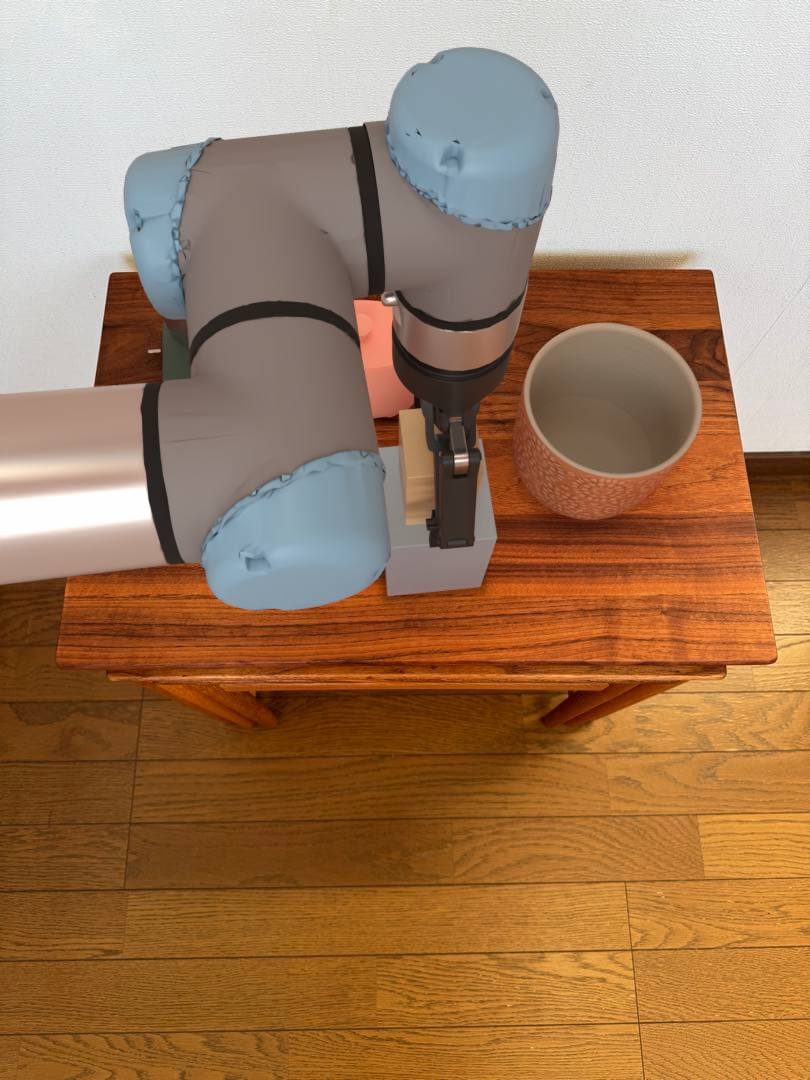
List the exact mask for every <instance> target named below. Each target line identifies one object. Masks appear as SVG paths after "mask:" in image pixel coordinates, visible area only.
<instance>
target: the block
mask: <svg viewBox="0 0 810 1080" xmlns="http://www.w3.org/2000/svg"><path fill="white" fill-rule="evenodd" d="M477 424H478V423H476V445H475V446H474V447H473V448H476V447H478V448H479V449H480V443H479V439H480V437H479V432H478V425H477ZM434 434H443V433H442V432H440V430H439V429H438V428H437V427H436V426H435V424H434ZM398 446H399V472H400V481H401V490H402V499H403V508H404V516H405V525H416V524H426V519H427V518H431V514H432V510H434V509H435V491H434V462H433V452H431V451H430V450H429V449H428V446H427V442H426V436H425V417H424V416H423V413H422V409H421V408H420V409H413V408H409V409H407V410H399V414H398ZM480 453H481V450H480ZM483 472H484V469H483V462H482V460H481V461H480V468H479V472H478V479H477V496H476V501H477V497H478V492H479V488H480V484H481V480H482V476H483Z"/></svg>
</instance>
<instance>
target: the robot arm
mask: <svg viewBox="0 0 810 1080" xmlns="http://www.w3.org/2000/svg"><path fill="white" fill-rule="evenodd" d="M560 127H561V126H560V115H559V107H558V103H557V102H556V100H555V97H554V95H553V93H552V91H551V89H550V88H549V86H548V85H547V83H546V82H545V81H544V80H543V78H542V77H541V76H540V75H539V73H537V72H536V71H535V70H534V69H533V68H532V67H530V66H529V65H528V64H526V63H524V62H523V61H521V60H520V59H518V58H516V57H515V56H512V55H510V54H507V53H505V52H502V51H498V50H495V49H491V48H486V47H475V46H462V47H460V46H459V47H453V48H447V49H444V50H441V51H438V52H436V54H435V55H434V56H433V57H432V58H431V59H430V60H429V61H427V62H418V63H415V64H414V65H413V66H411V67H410V68H409V69H408V70H406V71H405V72H404V74H403V75H402V76H401V78H400V79H399V80H398V82H397V84H396V85H395V87H394V89H393V93H392V95H391V98H390V102H389V109H388V111H387V117H386V119H385V120H374V121H373V120H372V121H365V122H364V121H363V123H362V125H354V126H349V127H348V126H344V127H334V128H324V129H316V130H305V131H297V132H296V131H295V132H286V133H275V134H267V135H266V134H265V135H257V136H256V135H255V136H247V137H238V138H227V139H224V138H222V137H220V136H219V137H214V136H213V137H208V138H207V139H206V140H204V141H200V142H197V143H192V144H191V143H190V144H186V145H178V146H174V147H172V146H171V147H170V148H168V149H167V148H166V149H160V150H153V151H147V152H145V153H143V154H140V155H138V156H137V157H135V158H134V159H133V161H132V162H131V163H130V165H129V166H128V168H127V170H126V172H125V175H124V182H123V191H122V192H123V209H124V215H125V219H126V223H127V228H128V232H129V235H128V239H129V245H130V250H131V253H132V257H133V261H134V265H135V268H136V271H137V275H138V278H139V280H140V283H141V286H142V288H143V291H144V293H145V295H146V296H147V300H148V301H149V302H150V305H152V307H153V309H154V310H155V311H156V312H157V313H158V314H159V315H160V316H161V317H162V316H164V317H165V318H168V319H174V320H179V319H187V327H188V340H189V354H190V371H191V379H179V380H167V381H164V382H163V381H154V382H143V383H128V384H117V385H115V384H114V385H103V386H102V385H101V386H90V387H88V386H87V387H78V388H77V387H76V388H75V387H74V388H64V389H51V390H49V389H48V390H38V391H37V390H36V391H25V392H12V393H11V392H10V393H0V586H2V585H3V586H4V585H10V584H11V585H12V584H21V583H28V582H36V581H44V580H53V579H63V578H72V577H81V576H88V575H95V574H104V573H113V572H114V573H115V572H120V571H130V570H131V571H132V570H138V569H146V568H147V569H148V568H155V567H157V568H158V567H164V566H173V565H183V564H200V567H201V568H203V569H204V571H205V578H206V584H207V586H208V588H209V590H210V591H211V592H212V594H213V595H214V596H215V597H216V599H218V600H219V601H220V602H222V603H224V604H226V605H228V606H231V607H233V608H234V607H235V608H238V609H243V610H248V611H263V610H271V609H272V610H273V609H275V610H281V612H282V611H283V612H285V611H295V610H297V611H298V610H304V609H311V608H315V607H320V606H325V605H329V604H333V603H336V602H339V601H342V600H344V599H347V598H350V597H352V596H354V595H357V594H358V593H360V592H363V591H364V590H365V589H368V588H369V587H370V586H372V584H374V583H375V581H376V580H378V579H379V577H380V576H382V573H383V572H384V571H385V567H386V565H387V562H388V560H389V559H390V557H391V545H390V536H389V527H388V519H387V510H386V502H385V493H384V485H383V482H384V481H385V477H386V468H385V465H384V463H383V462H382V459H381V457H380V453H379V448H380V447H379V444H378V438H377V431H376V427H375V421H374V418H373V415H372V409H371V404H370V398H369V393H368V387H367V382H366V376H365V371H364V365H363V360H362V353H361V348H360V338H359V331H358V325H357V319H356V313H355V306H354V300H357V299H361V298H367V297H369V296H370V297H372V296H380V300H381V302H382V304H383V305H384V306H387V307H390V306H392V311H393V321H392V361H393V366H394V369H395V372H396V374H397V376H398V378H399V380H400V381H401V383H402V384H403V385H404V386H405V387H406V389H408V390H409V391H410V392H411V393H412V394H413V395H414V403H413V408H412V409H420V408H421V409H422V413H423V416H424V417H425V436H426V442H427V446H428V449H429V450H430V451H431V452H433V462H434V491H435V509H434V510H432V514H431V518H427V519H426V528H427V531H430V532H429V546H430V548H433V547H439V548H440V549H452V548H462V547H473V546H474V541H475V536H474V531H475V514H476V496H477V479H478V472H479V468H480V461H481V460H482V454H481V453H480V449H479V448H478V447H476V448H473V447H474V446H475V445H476V424H477V415H478V414H479V413H480V410H481V402H482V401H483V400H484V399H485V398H487V397H488V396H489V395H491V394H492V393H493V392H495V390H496V389H497V388H498V387H499V385H500V384H501V383H502V381H503V379H504V378H505V376H506V374H507V371H508V368H509V363H510V359H511V356H512V355H511V354H512V351H513V346H514V342H515V337H516V335H517V332H518V330H519V327H520V321H521V317H522V313H523V309H524V305H525V300H526V297H527V292H528V288H529V287H528V286H529V274H530V270H531V266H532V262H533V258H534V255H535V250H536V247H537V243H538V240H539V236H540V232H541V229H542V224H543V221H544V217H545V215H546V213H547V210H548V209H549V207H550V204H551V201H552V196H553V182H554V178H555V177H554V176H555V170H556V164H557V158H558V146H559V139H560V129H561V128H560ZM434 424H435V426H436V427H437V428H438V429H439V430H440V432H442V433H443V434H434Z"/></svg>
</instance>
